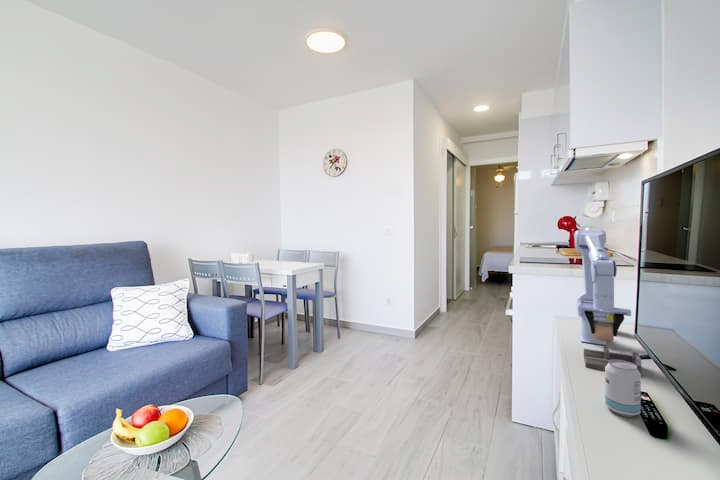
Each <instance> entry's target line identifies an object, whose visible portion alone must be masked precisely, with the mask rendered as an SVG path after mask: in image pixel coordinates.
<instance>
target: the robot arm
mask: <svg viewBox="0 0 720 480" xmlns="http://www.w3.org/2000/svg"><path fill="white" fill-rule="evenodd" d="M606 243H607V233H606V231H605V230H604V229H593V230H591V229H590V230H589V229H588V230H585V229H584V230H583V229H582V230H579V229H578V230H576V231H574V247H575V251H576V252H577V253H579V254H580V255H581V259H582V270H583V271H582V273H583V284H584V285H583V286H584V287H583V288H584V293H582V294H580V295H579V296H578V297H577V300H576V313H577V316H578V317H580V318H581V322H580V323H581V324H580V325H581V326H580V327H581V328H580V329H581V333H579V339H580V342H581V343H586V344H597V345H603V346H607V342H606V341H600V340H596V339H595V338H594V320H597V319H600V320H605V319H607V318H608V317H609V314H613V322H614V337H617V336H618V331H619V329H620V327H621V325H622V324H623V322H624V321H625V316H626V317H632V310H631V309H630V308H622V307H620V308H619V307H615V278H616V276H617V271H618V268H617V262H616V260H615V259H613V258H611V256H610V255H609V252H608V250H607V249H605V245H606Z"/></svg>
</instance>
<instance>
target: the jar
mask: <svg viewBox="0 0 720 480" xmlns="http://www.w3.org/2000/svg"><path fill="white" fill-rule="evenodd" d="M614 337H615V336H614V322H612V321H608V320H600V319H597V320H594V338H595V339H596V340H600V341H605V342H606V343H610V342H611V343H612V342H614V339H615V338H614Z"/></svg>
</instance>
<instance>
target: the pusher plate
mask: <svg viewBox="0 0 720 480" xmlns="http://www.w3.org/2000/svg"><path fill="white" fill-rule="evenodd" d="M603 351H604V359H607V360H610V352H611V351H610V350H609V347H608V346H607V345H603Z"/></svg>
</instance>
